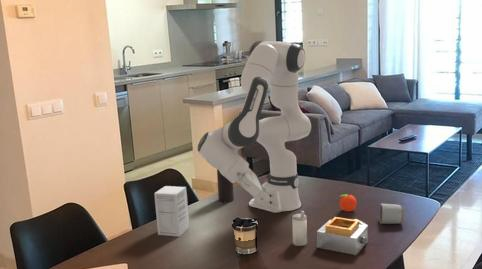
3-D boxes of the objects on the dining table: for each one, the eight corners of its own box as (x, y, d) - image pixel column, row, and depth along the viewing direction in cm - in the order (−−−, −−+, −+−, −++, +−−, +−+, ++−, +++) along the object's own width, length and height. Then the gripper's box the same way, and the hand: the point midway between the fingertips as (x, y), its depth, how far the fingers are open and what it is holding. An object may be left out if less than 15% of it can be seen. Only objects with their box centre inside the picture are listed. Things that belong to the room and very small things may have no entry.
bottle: (236, 198, 237) (234, 155, 233) (228, 203, 231) (226, 159, 227) (224, 196, 241) (221, 154, 236) (215, 201, 235) (213, 157, 231)
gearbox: (317, 247, 183) (316, 225, 181) (330, 235, 193) (329, 214, 191) (359, 255, 175) (359, 233, 174) (370, 242, 185) (371, 220, 184)
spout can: (290, 244, 187) (289, 212, 184) (296, 239, 191) (295, 207, 188) (303, 247, 184) (302, 214, 182) (309, 241, 188) (308, 209, 186)
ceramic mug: (404, 226, 198) (404, 207, 197) (381, 226, 199) (382, 207, 197) (397, 216, 208) (398, 198, 207) (376, 217, 209) (376, 198, 208)
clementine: (335, 212, 215) (335, 196, 213) (338, 207, 221) (338, 191, 220) (355, 214, 212) (355, 197, 210) (358, 208, 218) (358, 192, 217)
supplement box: (190, 228, 206) (187, 186, 202) (180, 237, 197) (176, 194, 194) (168, 225, 209) (164, 185, 205) (157, 235, 200) (153, 192, 197)
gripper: (245, 170, 170) (277, 197, 172) (240, 157, 190) (269, 181, 192) (232, 185, 170) (264, 211, 173) (229, 170, 190) (257, 194, 193)
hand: (266, 195), depth 183 cm, fingers open, 8 cm apart
